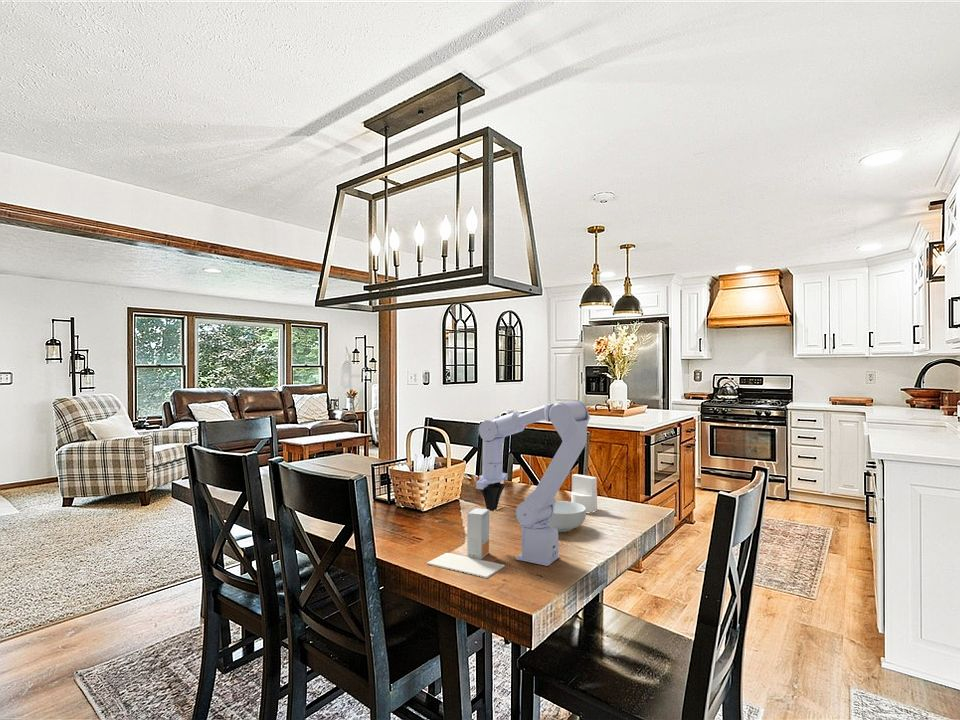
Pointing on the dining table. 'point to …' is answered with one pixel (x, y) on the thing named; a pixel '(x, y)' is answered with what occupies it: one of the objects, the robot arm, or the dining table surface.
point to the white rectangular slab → (466, 565)
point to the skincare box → (478, 533)
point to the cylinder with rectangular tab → (584, 491)
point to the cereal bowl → (567, 516)
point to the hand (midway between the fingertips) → (491, 509)
